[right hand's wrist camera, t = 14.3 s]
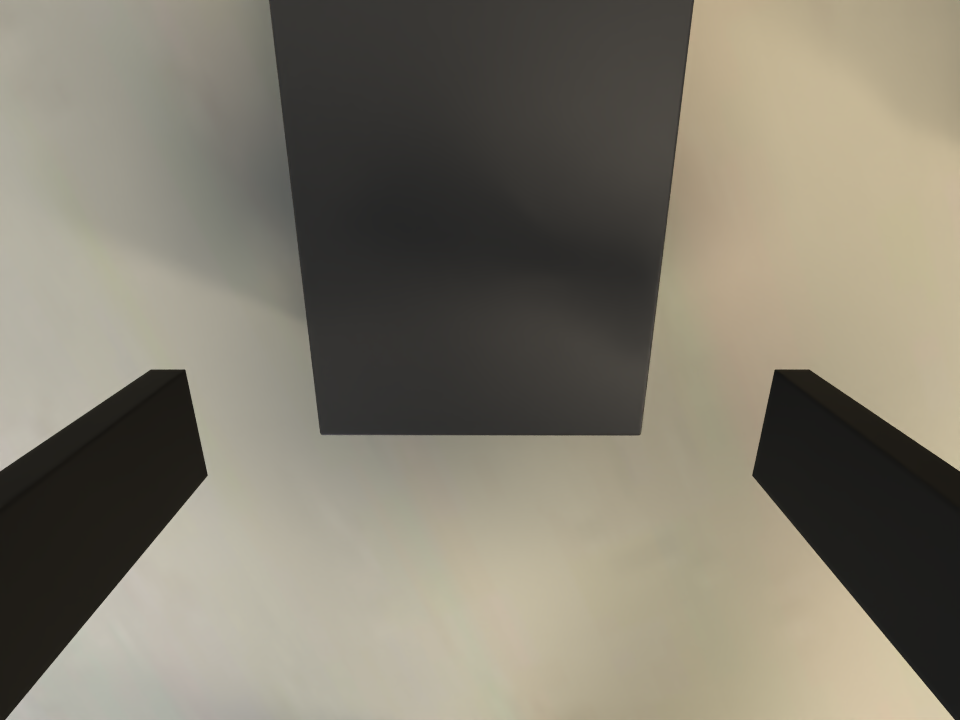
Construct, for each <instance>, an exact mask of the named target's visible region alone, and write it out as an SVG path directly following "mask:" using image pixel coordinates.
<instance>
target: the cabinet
mask: <svg viewBox="0 0 960 720" xmlns="http://www.w3.org/2000/svg"><path fill="white" fill-rule="evenodd" d="M269 3H270V11H271V20H272V28H273V37H274V45H275V54H276V62H277V71H278V79H279V88H280V96H281V105H282V113H283V122H284V130H285V139H286V147H287V156H288V164H289V172H290V181H291V189H292V198H293V206H294V215H295V223H296V232H297V240H298V249H299V257H300V266H301V274H302V283H303V291H304V300H305V308H306V317H307V325H308V334H309V342H310V351H311V359H312V368H313V376H314V385H315V393H316V402H317V410H318V419H319V427H320V433H321V435H640V434H641V428H642V420H643V412H644V404H645V396H646V388H647V379H648V371H649V363H650V355H651V347H652V339H653V330H654V322H655V314H656V306H657V298H658V290H659V281H660V273H661V265H662V257H663V249H664V241H665V232H666V224H667V216H668V208H669V200H670V192H671V184H672V175H673V167H674V159H675V151H676V143H677V135H678V126H679V118H680V110H681V102H682V94H683V86H684V77H685V69H686V61H687V53H688V45H689V37H690V28H691V20H692V12H693V4H694V0H269Z"/></svg>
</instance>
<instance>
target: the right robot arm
mask: <svg viewBox="0 0 960 720" xmlns="http://www.w3.org/2000/svg"><path fill="white" fill-rule="evenodd" d="M207 476H208V475H207V470H206V465H205V461H204V456H203V451H202V447H201V442H200V437H199V432H198V428H197V423H196V418H195V413H194V409H193V404H192V399H191V395H190V390H189V385H188V380H187V376H186V371H185V370H150V371H148V372H147V373H145V374H144V375H142V376H141V377H139V378H138V379H136V380H135V381H133V382H132V383H130V384H129V385H127V386H126V387H124V388H123V389H121V390H120V391H119V392H117V393H116V394H114V395H113V396H111V397H110V398H108V399H107V400H105V401H104V402H102V403H101V404H99V405H98V406H96V407H95V408H93V409H92V410H90V411H89V412H87V413H86V414H84V415H83V416H82V417H80V418H79V419H77V420H76V421H74V422H73V423H71V424H70V425H68V426H67V427H65V428H64V429H62V430H61V431H59V432H58V433H56V434H55V435H53V436H52V437H50V438H49V439H48V440H46V441H45V442H43V443H42V444H40V445H39V446H37V447H36V448H34V449H33V450H31V451H30V452H28V453H27V454H25V455H24V456H22V457H21V458H19V459H18V460H16V461H15V462H13V463H12V464H11V465H9V466H8V467H6V468H5V469H3V470H2V471H0V720H5V719H6V718H7V717H8V716H9V714H10V713H11V712H12V711H13V710H14V708H15V707H16V706H17V705H18V704H19V702H20V701H21V700H22V699H23V698H24V696H25V695H26V694H27V693H28V692H29V690H30V689H31V688H32V687H33V686H34V684H35V683H36V682H37V681H38V679H39V678H40V677H41V676H42V675H43V673H44V672H45V671H46V670H47V669H48V667H49V666H50V665H51V664H52V663H53V661H54V660H55V659H56V658H57V657H58V655H59V654H60V653H61V652H62V651H63V649H64V648H65V647H66V646H67V645H68V643H69V642H70V641H71V640H72V638H73V637H74V636H75V635H76V634H77V632H78V631H79V630H80V629H81V628H82V626H83V625H84V624H85V623H86V622H87V620H88V619H89V618H90V617H91V616H92V614H93V613H94V612H95V611H96V610H97V608H98V607H99V606H100V605H101V604H102V602H103V601H104V600H105V599H106V598H107V596H108V595H109V594H110V593H111V591H112V590H113V589H114V588H115V587H116V585H117V584H118V583H119V582H120V581H121V579H122V578H123V577H124V576H125V575H126V573H127V572H128V571H129V570H130V569H131V567H132V566H133V565H134V564H135V563H136V561H137V560H138V559H139V558H140V557H141V555H142V554H143V553H144V552H145V550H146V549H147V548H148V547H149V546H150V544H151V543H152V542H153V541H154V540H155V538H156V537H157V536H158V535H159V534H160V532H161V531H162V530H163V529H164V528H165V526H166V525H167V524H168V523H169V522H170V520H171V519H172V518H173V517H174V516H175V514H176V513H177V512H178V511H179V509H180V508H181V507H182V506H183V505H184V503H185V502H186V501H187V500H188V499H189V497H190V496H191V495H192V494H193V493H194V491H195V490H196V489H197V488H198V487H199V485H200V484H201V483H202V482H203V481H204V479H205V478H206V477H207ZM752 476H753V477H754V478H755V479H756V481H757V482H758V483H759V484H760V485H761V487H762V488H763V489H764V490H765V491H766V493H767V494H768V495H769V496H770V497H771V499H772V500H773V501H774V502H775V503H776V505H777V506H778V507H779V508H780V509H781V511H782V512H783V513H784V514H785V516H786V517H787V518H788V519H789V520H790V522H791V523H792V524H793V525H794V526H795V528H796V529H797V530H798V531H799V532H800V534H801V535H802V536H803V537H804V538H805V540H806V541H807V542H808V543H809V544H810V546H811V547H812V548H813V549H814V550H815V552H816V553H817V554H818V555H819V557H820V558H821V559H822V560H823V561H824V563H825V564H826V565H827V566H828V567H829V569H830V570H831V571H832V572H833V573H834V575H835V576H836V577H837V578H838V579H839V581H840V582H841V583H842V584H843V585H844V587H845V588H846V589H847V590H848V591H849V593H850V594H851V595H852V596H853V598H854V599H855V600H856V601H857V602H858V604H859V605H860V606H861V607H862V608H863V610H864V611H865V612H866V613H867V614H868V616H869V617H870V618H871V619H872V620H873V622H874V623H875V624H876V625H877V626H878V628H879V629H880V630H881V631H882V632H883V634H884V635H885V636H886V637H887V638H888V640H889V641H890V642H891V643H892V645H893V646H894V647H895V648H896V649H897V651H898V652H899V653H900V654H901V655H902V657H903V658H904V659H905V660H906V661H907V663H908V664H909V665H910V666H911V667H912V669H913V670H914V671H915V672H916V673H917V675H918V676H919V677H920V678H921V679H922V681H923V682H924V683H925V684H926V686H927V687H928V688H929V689H930V690H931V692H932V693H933V694H934V695H935V696H936V698H937V699H938V700H939V701H940V702H941V704H942V705H943V706H944V707H945V708H946V710H947V711H948V712H949V713H950V714H951V716H952V717H953V718H954V719H955V720H960V471H958V470H957V469H955V468H954V467H952V466H951V465H949V464H948V463H947V462H945V461H944V460H942V459H941V458H939V457H938V456H936V455H935V454H933V453H932V452H930V451H929V450H927V449H926V448H924V447H923V446H921V445H920V444H918V443H917V442H915V441H914V440H912V439H911V438H910V437H908V436H907V435H905V434H904V433H902V432H901V431H899V430H898V429H896V428H895V427H893V426H892V425H890V424H889V423H887V422H886V421H884V420H883V419H881V418H880V417H878V416H877V415H876V414H874V413H873V412H871V411H870V410H868V409H867V408H865V407H864V406H862V405H861V404H859V403H858V402H856V401H855V400H853V399H852V398H850V397H849V396H847V395H846V394H844V393H843V392H841V391H840V390H839V389H837V388H836V387H834V386H833V385H831V384H830V383H828V382H827V381H825V380H824V379H822V378H821V377H819V376H818V375H816V374H815V373H813V372H812V371H810V370H775V371H774V376H773V380H772V385H771V390H770V395H769V399H768V404H767V409H766V413H765V418H764V423H763V428H762V432H761V437H760V442H759V446H758V451H757V456H756V461H755V465H754V470H753V475H752Z"/></svg>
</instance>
